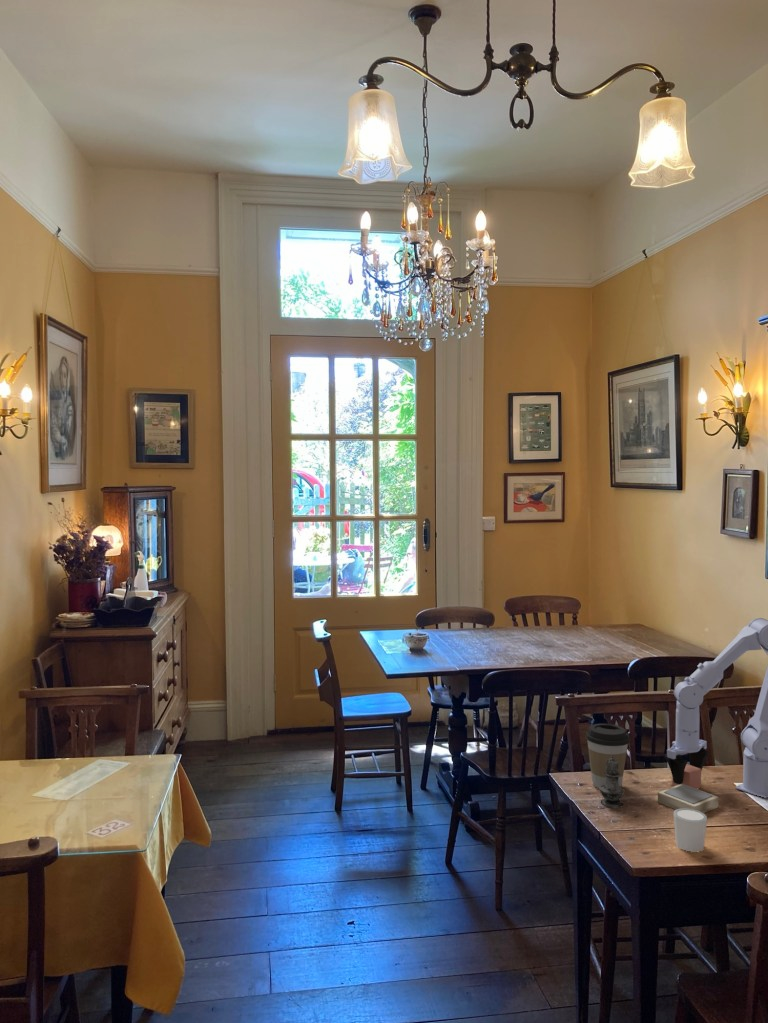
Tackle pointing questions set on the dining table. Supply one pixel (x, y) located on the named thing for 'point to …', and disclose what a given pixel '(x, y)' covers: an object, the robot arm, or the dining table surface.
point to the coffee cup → (606, 750)
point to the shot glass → (690, 829)
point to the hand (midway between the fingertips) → (686, 780)
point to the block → (691, 777)
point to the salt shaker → (612, 785)
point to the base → (688, 798)
